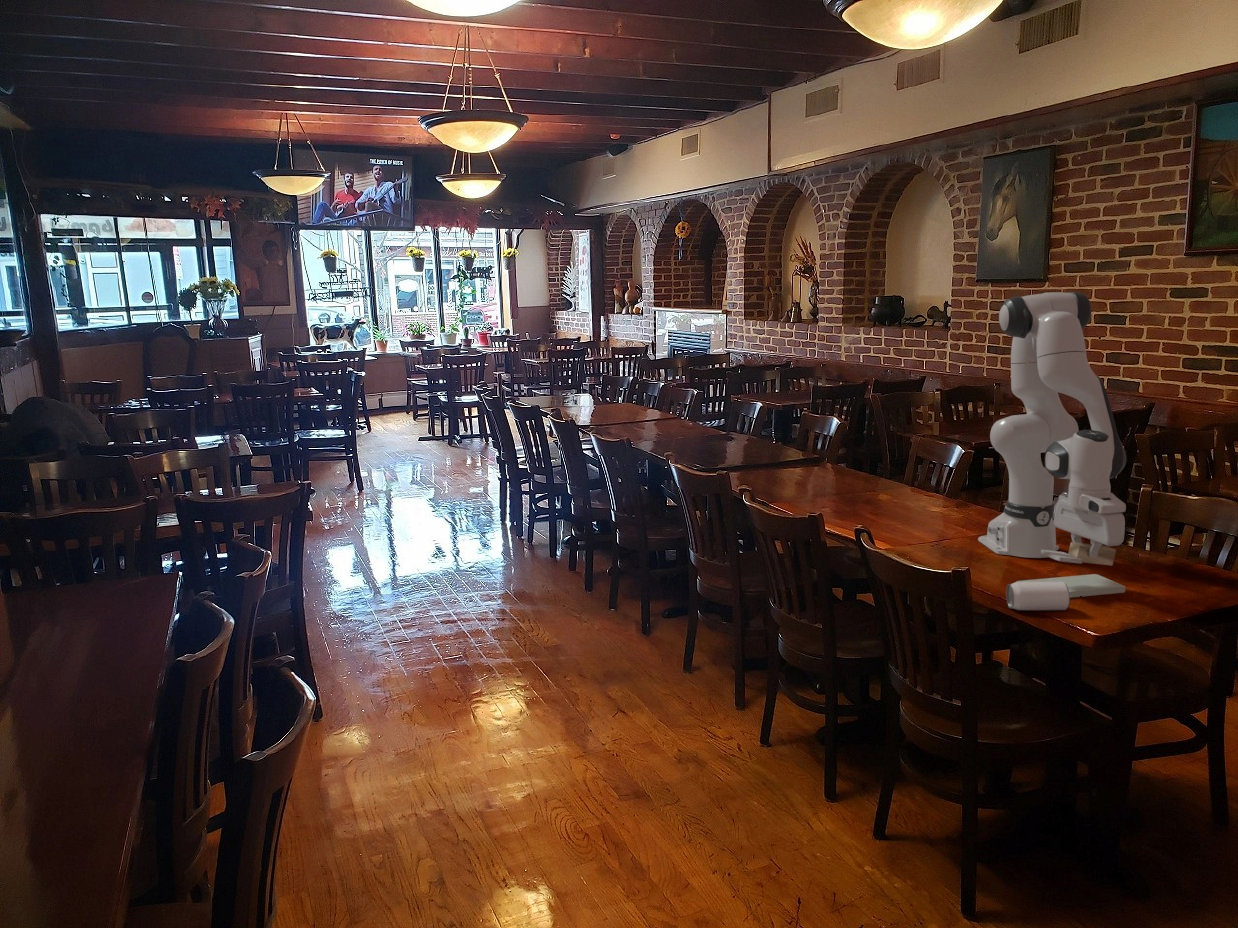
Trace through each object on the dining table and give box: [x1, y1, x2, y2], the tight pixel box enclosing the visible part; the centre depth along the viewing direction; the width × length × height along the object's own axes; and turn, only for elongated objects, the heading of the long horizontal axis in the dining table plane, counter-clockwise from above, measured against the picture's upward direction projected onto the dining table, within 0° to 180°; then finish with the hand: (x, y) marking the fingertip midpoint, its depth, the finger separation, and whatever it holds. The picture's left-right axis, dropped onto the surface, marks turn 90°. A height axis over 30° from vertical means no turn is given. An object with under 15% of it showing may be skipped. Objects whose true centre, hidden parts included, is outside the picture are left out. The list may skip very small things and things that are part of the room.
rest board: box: [1015, 573, 1126, 599], centre depth 210 cm, size 10×22×2 cm, turn 100°
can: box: [1005, 581, 1071, 611], centre depth 198 cm, size 6×6×12 cm
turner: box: [1041, 541, 1117, 566], centre depth 209 cm, size 7×16×4 cm, turn 99°
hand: (1085, 554), depth 209 cm, fingers closed on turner, 3 cm apart
